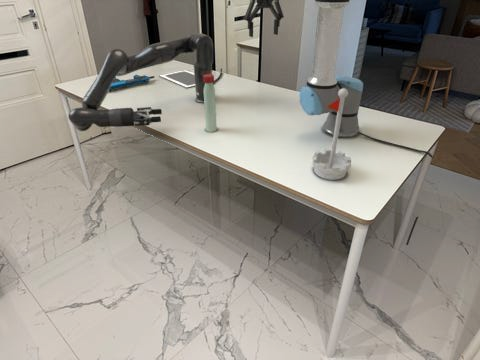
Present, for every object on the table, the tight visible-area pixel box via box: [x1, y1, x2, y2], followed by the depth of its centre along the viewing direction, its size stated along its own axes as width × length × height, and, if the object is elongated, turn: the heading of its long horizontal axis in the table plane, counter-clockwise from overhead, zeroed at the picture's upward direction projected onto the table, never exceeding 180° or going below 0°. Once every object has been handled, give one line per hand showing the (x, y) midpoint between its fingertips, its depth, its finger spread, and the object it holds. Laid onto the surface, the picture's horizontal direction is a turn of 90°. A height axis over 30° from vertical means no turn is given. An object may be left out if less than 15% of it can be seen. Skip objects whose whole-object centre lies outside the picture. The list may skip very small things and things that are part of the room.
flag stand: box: [312, 88, 352, 181], centre depth 113 cm, size 13×13×30 cm
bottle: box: [203, 83, 218, 133], centre depth 145 cm, size 5×5×24 cm
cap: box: [203, 73, 215, 84], centre depth 139 cm, size 4×4×2 cm
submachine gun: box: [109, 74, 155, 92], centre depth 206 cm, size 34×4×25 cm
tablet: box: [159, 69, 195, 89], centre depth 215 cm, size 32×20×1 cm, turn 41°
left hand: (161, 115), depth 143 cm, fingers open, 8 cm apart
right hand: (263, 35), depth 165 cm, fingers open, 13 cm apart
